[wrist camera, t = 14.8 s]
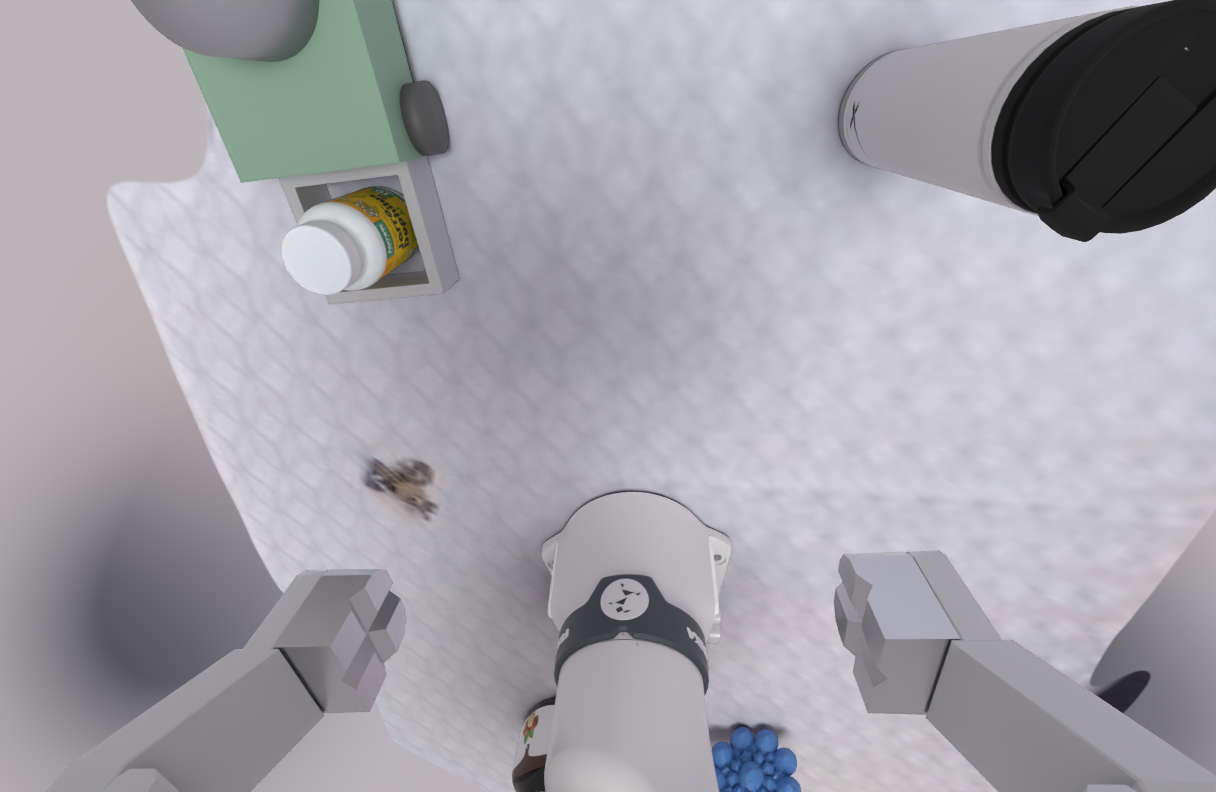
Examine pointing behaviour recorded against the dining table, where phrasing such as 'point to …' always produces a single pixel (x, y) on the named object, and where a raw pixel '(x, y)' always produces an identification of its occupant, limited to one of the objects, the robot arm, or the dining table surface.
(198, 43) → the green toy truck
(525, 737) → the spread jar
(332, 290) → the supplement bottle
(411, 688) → the dining table surface
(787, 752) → the grapes
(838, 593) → the robot arm
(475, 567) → the dining table surface
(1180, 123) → the travel mug
